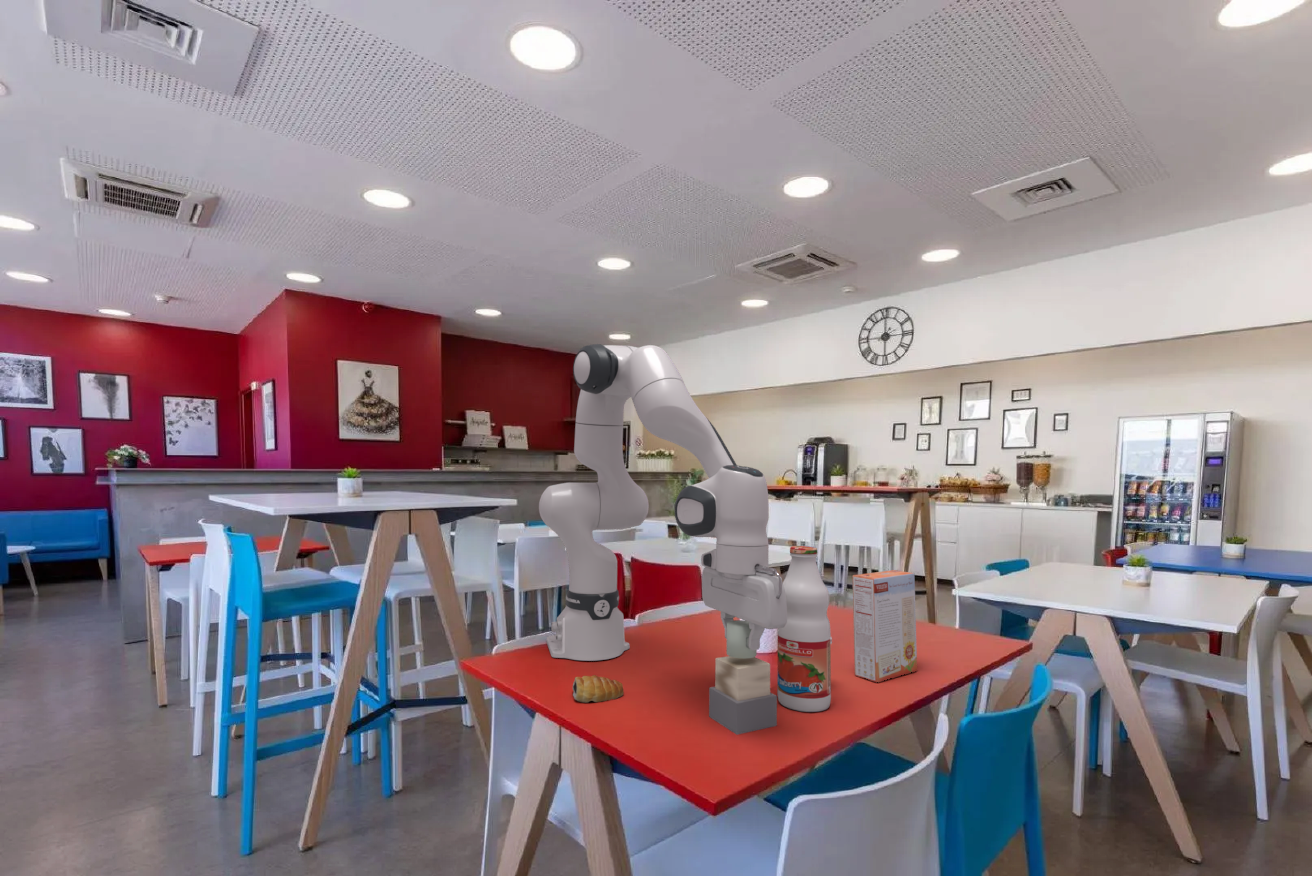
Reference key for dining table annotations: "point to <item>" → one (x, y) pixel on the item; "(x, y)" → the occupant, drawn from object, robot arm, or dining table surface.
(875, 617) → the cracker box
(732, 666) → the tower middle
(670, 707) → the dining table surface
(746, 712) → the tower base
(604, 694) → the pastry
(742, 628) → the grey round cylinder
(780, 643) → the fruit juice
